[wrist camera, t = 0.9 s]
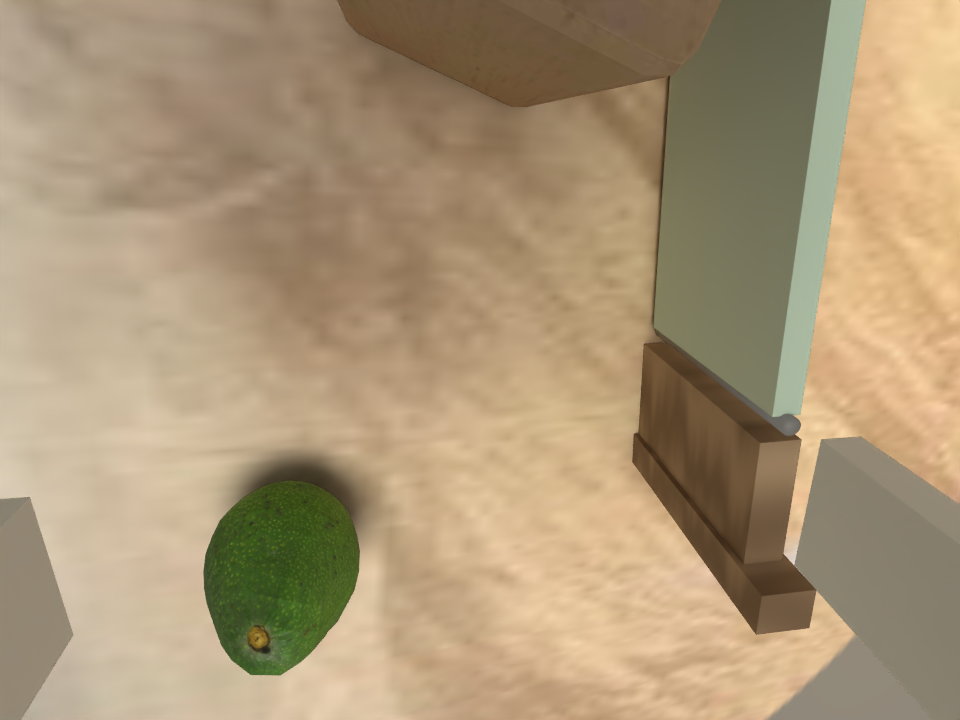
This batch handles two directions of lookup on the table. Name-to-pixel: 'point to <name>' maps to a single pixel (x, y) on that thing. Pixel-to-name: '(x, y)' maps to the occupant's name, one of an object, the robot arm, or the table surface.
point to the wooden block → (539, 41)
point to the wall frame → (723, 486)
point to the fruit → (280, 574)
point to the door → (754, 194)
